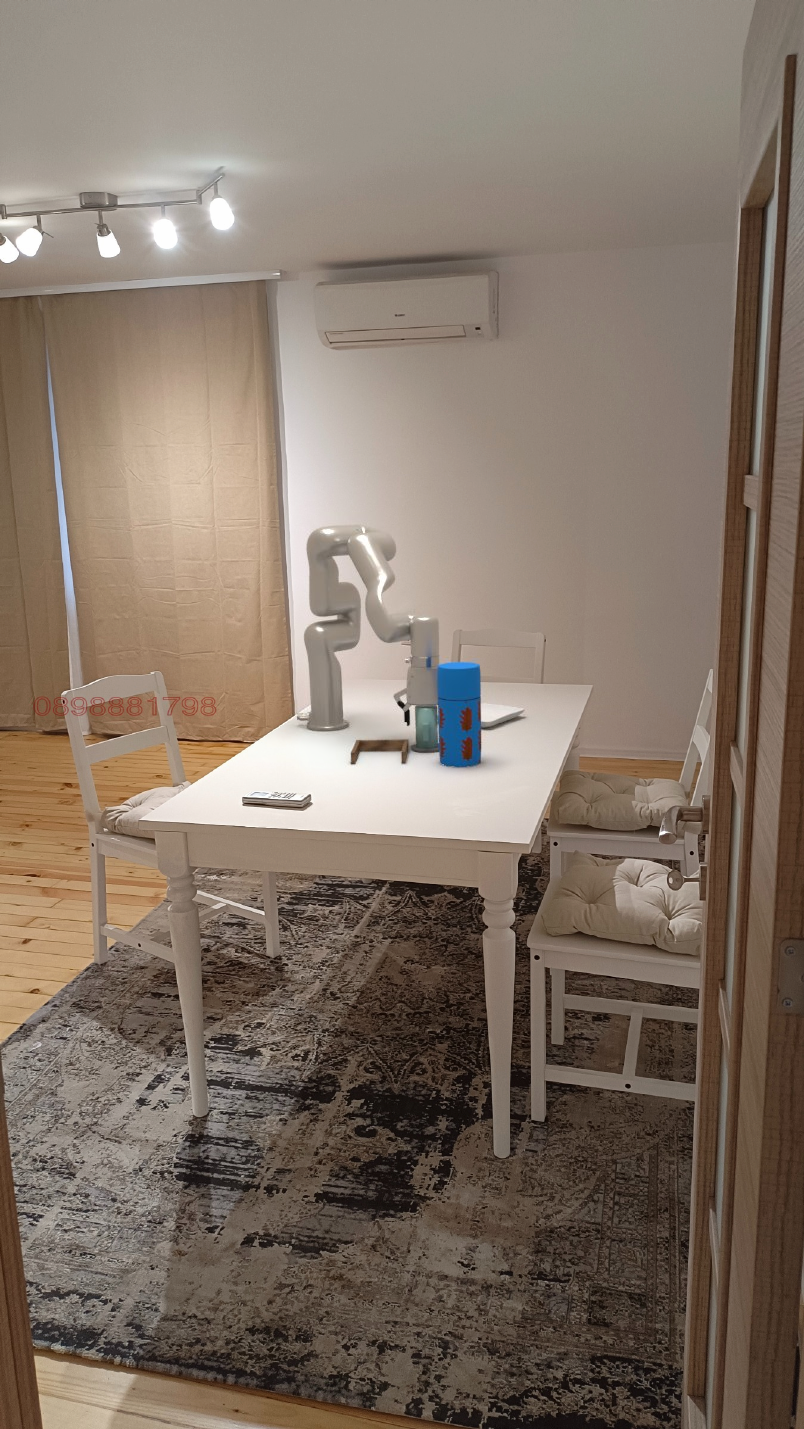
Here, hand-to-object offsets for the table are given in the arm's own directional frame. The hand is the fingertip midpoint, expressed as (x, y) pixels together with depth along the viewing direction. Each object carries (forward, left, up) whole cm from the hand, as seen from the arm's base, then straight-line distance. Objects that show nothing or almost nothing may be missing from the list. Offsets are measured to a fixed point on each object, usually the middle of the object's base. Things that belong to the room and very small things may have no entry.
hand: (426, 724), depth 277 cm
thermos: (+9, -15, -7) cm, 19 cm away
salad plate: (+14, +34, -7) cm, 38 cm away
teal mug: (0, -1, -6) cm, 6 cm away
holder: (-12, -9, -7) cm, 16 cm away
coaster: (0, 0, -7) cm, 7 cm away
